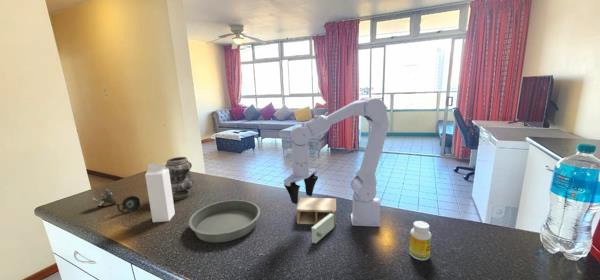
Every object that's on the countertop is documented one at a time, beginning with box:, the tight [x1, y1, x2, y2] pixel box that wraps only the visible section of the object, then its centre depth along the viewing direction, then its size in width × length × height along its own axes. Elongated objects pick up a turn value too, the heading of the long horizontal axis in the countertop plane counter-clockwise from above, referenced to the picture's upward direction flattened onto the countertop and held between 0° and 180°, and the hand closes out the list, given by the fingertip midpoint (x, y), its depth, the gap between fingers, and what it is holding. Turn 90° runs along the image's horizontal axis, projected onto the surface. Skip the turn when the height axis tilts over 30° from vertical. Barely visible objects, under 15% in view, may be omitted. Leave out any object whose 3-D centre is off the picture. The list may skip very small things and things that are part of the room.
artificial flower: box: [92, 188, 141, 214], centre depth 108 cm, size 9×22×10 cm, turn 62°
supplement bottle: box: [408, 220, 432, 261], centre depth 71 cm, size 5×5×10 cm
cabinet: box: [296, 197, 337, 226], centre depth 94 cm, size 14×10×6 cm
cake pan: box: [188, 199, 261, 243], centre depth 91 cm, size 25×25×4 cm
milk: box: [144, 162, 176, 223], centre depth 96 cm, size 6×6×22 cm
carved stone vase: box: [165, 156, 195, 201], centre depth 117 cm, size 12×12×18 cm
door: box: [311, 211, 336, 245], centre depth 82 cm, size 12×3×6 cm, turn 142°
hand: (302, 199), depth 87 cm, fingers open, 7 cm apart
